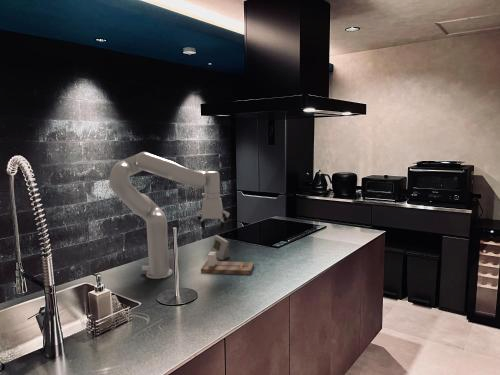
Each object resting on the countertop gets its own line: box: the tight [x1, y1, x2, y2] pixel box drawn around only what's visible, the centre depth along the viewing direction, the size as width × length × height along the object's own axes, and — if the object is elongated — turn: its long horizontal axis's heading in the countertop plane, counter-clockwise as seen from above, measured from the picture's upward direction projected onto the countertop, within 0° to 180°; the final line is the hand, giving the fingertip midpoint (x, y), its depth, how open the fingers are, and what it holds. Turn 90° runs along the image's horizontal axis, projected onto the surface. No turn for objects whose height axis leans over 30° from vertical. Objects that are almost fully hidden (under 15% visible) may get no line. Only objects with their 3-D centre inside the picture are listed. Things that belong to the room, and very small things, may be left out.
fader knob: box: [207, 251, 217, 266], centre depth 194 cm, size 3×5×6 cm, turn 172°
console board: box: [200, 260, 255, 276], centre depth 194 cm, size 25×12×2 cm, turn 82°
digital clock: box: [209, 234, 231, 261], centre depth 214 cm, size 16×9×11 cm, turn 17°
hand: (212, 229), depth 193 cm, fingers open, 9 cm apart
